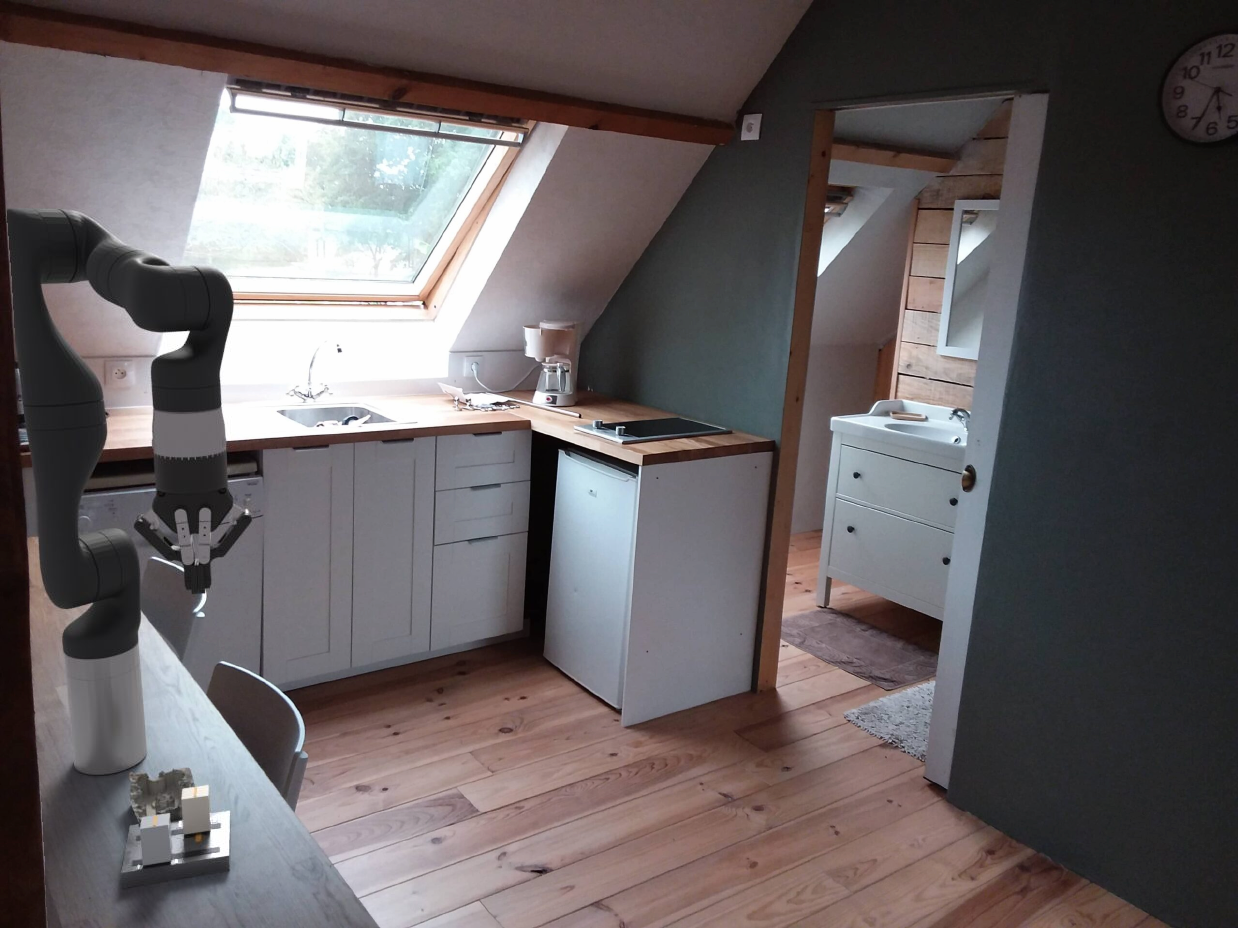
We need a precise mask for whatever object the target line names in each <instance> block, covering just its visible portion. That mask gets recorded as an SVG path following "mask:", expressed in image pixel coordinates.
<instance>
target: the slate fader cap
mask: <svg viewBox="0 0 1238 928" xmlns="http://www.w3.org/2000/svg"><path fill="white" fill-rule="evenodd" d="M140 837H141V849H142V862H143V865H150V864H156V863H162V862H168V861H171V858H172V835H171V820H170V813H167V814H160V815H153V816H146V817H142V819H141V825H140Z"/></svg>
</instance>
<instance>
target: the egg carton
mask: <svg viewBox="0 0 1238 928" xmlns="http://www.w3.org/2000/svg"><path fill="white" fill-rule="evenodd" d="M129 784H130V789H129V790H130V791H129V799H130V802H131V808H132V810H133V811H134V816H135V817H136V820H137V822H138V824H141V819H142V817H146V816H153V815H160V814H167V813H170V819H177V818H183V816H182V800H181V799H182V789H184V788H191V787H196V785H195V781H194V777H193V773H192V771H191V768H189V767H182V768H180V769H178V768H177V769H176V768H172V770H170V771H167V772H165V771H163V770H162V771H159V773H158V776H156V777H152V778H150V777H149V774H148V773H147V772H140V773H137V774H135V773H134V772H133V771H129Z"/></svg>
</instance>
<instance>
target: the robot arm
mask: <svg viewBox="0 0 1238 928" xmlns="http://www.w3.org/2000/svg"><path fill="white" fill-rule="evenodd" d="M6 209H7V223H8V236H9V250H10V263H11V276H12V293H13V310H14V328H15V338H14V343H15V350H16V357H17V365H18V373H19V382H20V392H21V394H20V395H21V403H22V411H23V417H24V423H25V431H26V437H27V441H28V446H29V448H28V449H29V452H30V458H31V465H32V472H33V473H32V474H33V478H34V479H33V480H34V487H35V497H36V498H35V499H36V511H37V512H36V515H37V518H36V519H37V537H38V538H37V539H38V555H39V556H38V559H39V567H40V575H41V581H42V585H43V588H44V590H45V593H46V595H47V597H48V599H49V600H50V601H51V603H52V604H53V605H54V606H56V607H57V608H59V609H61V610H71V609H76V608H79V607H82V606H87V605H90V604H91V605H90V606H89V608H88V609H87V610H86V611H85V612H83V613H82V614H81V615H80V616H78V617H77V618H75V620H73V621H72V622H70V623H69V624H68V625H67V626H66V627H65V628H64V630H63V631H62V635H61V637H62V638H61V641H62V651H63V652H62V653H63V662H64V663H63V665H64V672H65V681H66V682H65V683H66V693H67V704H68V716H69V725H70V735H71V747H72V757H73V765H74V766H73V767H74V768H75V769H76V771H78V772H80V773H83V774H86V775H90V776H93V775H94V776H95V775H96V776H99V775H100V776H101V775H110V774H115V773H119V772H123V771H125V770H127V769H130V768H132V767H134V766H136V765H138V764H139V763H140V762H142V761H143V760H144V759H145V757H146V756H147V754H148V753H147V751H148V746H147V736H146V735H147V734H146V718H145V707H144V695H143V692H144V691H143V683H142V679H143V678H142V669H141V667H142V665H141V659H140V658H141V656H140V645H139V644H140V643H139V641H140V640H139V630H140V626H141V621H142V608H141V606H142V605H141V603H142V602H141V566H140V565H141V564H140V558H139V554H138V550H137V547H136V545H135V542H134V541H133V539H132V538H131V536H130V535H129V533H127V532H126V531H124V530H123V529H120V528H115V527H112V528H111V527H109V528H105V529H104V528H103V529H100V530H95V531H92V532H87V533H84V534H83V533H82V534H79V513H80V507H81V506H80V504H81V500H82V497H83V494H84V491H85V488H86V487H87V485H88V483H89V481H90V478H91V476H92V474H93V472H94V470H95V468H96V466H97V464H98V462H99V460H100V457H101V455H102V453H103V451H104V449H105V447H106V443H107V437H108V424H107V422H108V421H107V416H106V406H105V400H104V392H103V387H102V384H101V382H100V380H99V378H98V376H97V375H96V373H95V372H94V370H93V369H92V368H91V367H90V366H89V363H88V364H87V362H86V361H85V360H84V358H83V357H82V356H81V355H80V354H79V353H78V352H77V351H76V350H75V348H74V347H73V346H72V345H71V344H70V343H69V341H67V339H66V338H65V337H64V335H63V333H61V331H60V329H59V328H58V327H57V325H56V323H55V321H54V320H53V319H52V318H53V317H51V314H50V311H49V308H48V306H47V304H46V301H45V300H46V299H45V297H44V292H43V287H42V285H46V284H47V285H48V284H49V285H52V284H53V285H54V284H57V285H58V284H75V283H81V282H85V281H86V282H87V281H88V284H89V285H90V287H91V289H93V291H94V292H95V293H96V294H97V295H99V296H100V297H101V298H102V299H104V301H107V302H109V303H110V304H113V305H115V306H117V307H120V308H122V309H124V310H125V311H126V313H127V314H128V316H129V317H130V318H131V320H132V322H133V323H134V324H135V325H136V326H137V327H138V328H140V329H141V330H144V331H148V332H152V333H162V334H163V333H164V334H165V333H178V332H179V333H181V332H182V333H183V332H188V335H187V337H186V340H185V342H184V344H183V345H182V346H181V347H179V348H177V349H175V350H172V351H170V352H166V353H163V354H161V355H159V356H156V357H155V358H154V359H153V360H152V361H151V363H150V364H151V365H150V381H151V383H150V384H151V396H152V397H151V398H152V399H151V400H152V422H151V433H152V434H151V435H152V438H151V448H152V449H153V465H154V466H153V467H154V477H155V479H154V481H155V482H154V483H155V496H154V498H153V500H152V503H151V507H150V509H148V510H147V511H146V512H145V513H143V514H139V515H137V516H136V517H135V520H134V522H133V523H134V524H133V529H134V530H135V531H136V532H138V533H139V535H140V536H142V537H143V538H144V539H145V541H147V542H148V543H149V544H150V545H151V546H152V547H153V548H154V549H155V550H156V551H157V552H158V554H160V555H161V556H162V557H163V558H164V559H165V560H167V561H169V562H172V561H176V562H179V563H181V564H182V566H183V578H184V580H183V581H184V587H185V589H186V590H187V591H191V595H202V594H206V590H207V589H210V588H211V586H212V583H213V582H212V581H213V580H212V579H213V578H212V561H214V560H215V559H217V558H224V557H225V556H226V555H227V554H228V552H229V551H230V550H231V549H232V547H233V546H234V544H236V542H237V541H238V540H239V538H240V537H241V536H242V535H243V533H244V532H245V531H246V529H247V528H249V526H250V524H251V523H252V521H253V518H252V517H253V516H252V515H253V513H252V511H251V510H250V509H248V508H242V507H241V506H239V505H237V504H235V503H234V496H233V495H232V493H231V492H230V490H229V480H228V460H227V458H228V457H227V437H226V424H225V420H224V415H223V407H222V403H223V402H222V389H221V388H222V387H221V368H222V363H223V357H224V354H225V348H226V343H227V339H228V335H229V332H230V328H231V324H232V319H233V315H234V307H235V306H234V305H235V301H234V299H235V298H234V292H233V288H232V286H231V284H230V282H229V280H228V278H227V276H225V274H224V273H223V272H222V271H220V270H219V269H218V268H216V267H214V266H210V265H170V263H169V262H168V261H167V260H165V259H164V258H163V257H160V256H158V255H156V254H155V253H152V252H149V251H147V250H144V249H141V248H139V247H135V246H132V245H130V244H128V243H125V242H123V241H121V240H120V239H119V238H118V237H116V236H115V235H114V234H112V233H111V232H109V231H108V230H107V229H106V228H104V226H102V225H101V224H100V223H98V222H97V221H96V220H94V219H92V218H91V217H90V216H88V215H86V214H84V213H82V212H80V211H76V210H72V209H65V208H63V209H61V208H33V207H32V208H29V207H28V208H26V207H25V208H23V207H12V208H11V207H10V208H6ZM229 513H230V516H229V519H228V521H229V522H228V523H229V524H230V525H229V526H228V528H227V529H226V531H224V532H223V534H222V535H221V537H220V538H219V540H217V542H216V543H214V544H212V545H211V542H212V541H211V540H212V539H211V538H212V533H213V532H214V531H217V529H218V527H220V525H221V524H222V522H223V521H224V520H225V518H226V517H227V515H228V514H229ZM158 518H159V519H160V520H159V519H158ZM160 521H162V522H163V523H164V524H165V525H166V527H168V529H169V530H170V531H171V532H172V533H174V534H176V535H177V537H178V543H179V544H178V545H179V546H178V545H176V544H175V543H174V542H173V541H172V540H171V539H170V538H169V537H168V535H166V534H165V533H164V532H163V531H162V530H161V529H160V528H159V526H160ZM194 534H195V535H198V555H197V556H198V557H197V558H196V553H195V545H194V540H193V539H194V537H193V535H194Z"/></svg>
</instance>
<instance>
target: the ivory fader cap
mask: <svg viewBox="0 0 1238 928" xmlns="http://www.w3.org/2000/svg"><path fill="white" fill-rule="evenodd" d="M210 797H211V796H210V784H206V785H201V786H200V785H198V786H195V787H191V788H184V789H182V799H181V800H182V816H183V831H184V834H190V833H197V832H203V831H210V829H211V799H210Z"/></svg>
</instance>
